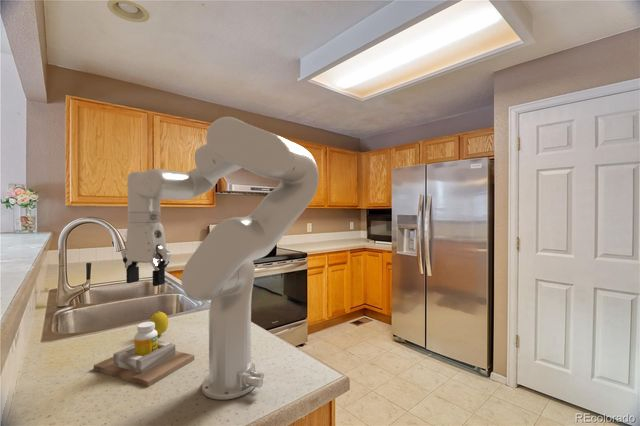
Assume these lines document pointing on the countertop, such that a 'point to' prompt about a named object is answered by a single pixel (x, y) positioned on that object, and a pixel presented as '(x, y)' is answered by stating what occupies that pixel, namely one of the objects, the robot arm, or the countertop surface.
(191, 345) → the countertop surface
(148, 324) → the supplement bottle
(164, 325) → the lemon
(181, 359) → the dock board
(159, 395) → the countertop surface
